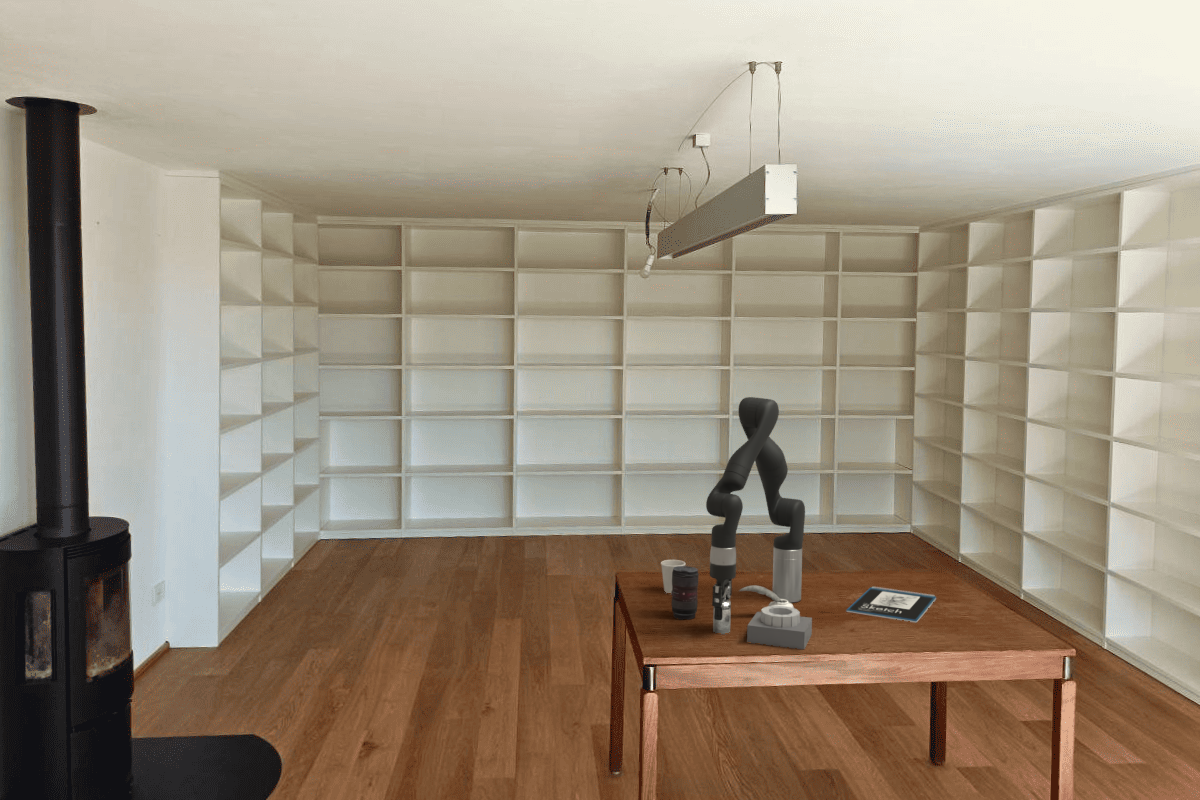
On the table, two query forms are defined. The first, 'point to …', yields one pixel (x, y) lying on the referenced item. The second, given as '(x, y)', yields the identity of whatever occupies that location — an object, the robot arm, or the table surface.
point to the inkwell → (768, 593)
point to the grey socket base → (780, 627)
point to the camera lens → (684, 592)
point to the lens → (723, 619)
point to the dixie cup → (669, 572)
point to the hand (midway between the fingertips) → (721, 615)
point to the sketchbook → (892, 604)
